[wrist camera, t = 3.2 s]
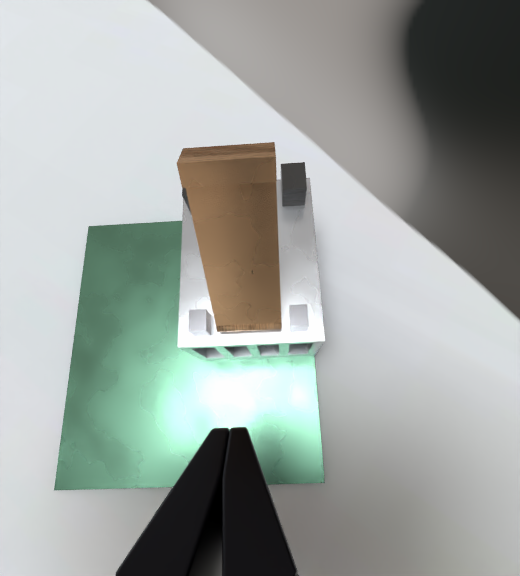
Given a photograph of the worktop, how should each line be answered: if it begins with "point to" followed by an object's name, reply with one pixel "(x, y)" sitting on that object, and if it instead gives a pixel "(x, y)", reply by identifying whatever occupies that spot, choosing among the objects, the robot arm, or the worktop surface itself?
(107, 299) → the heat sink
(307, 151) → the worktop surface
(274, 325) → the tan flat bar
